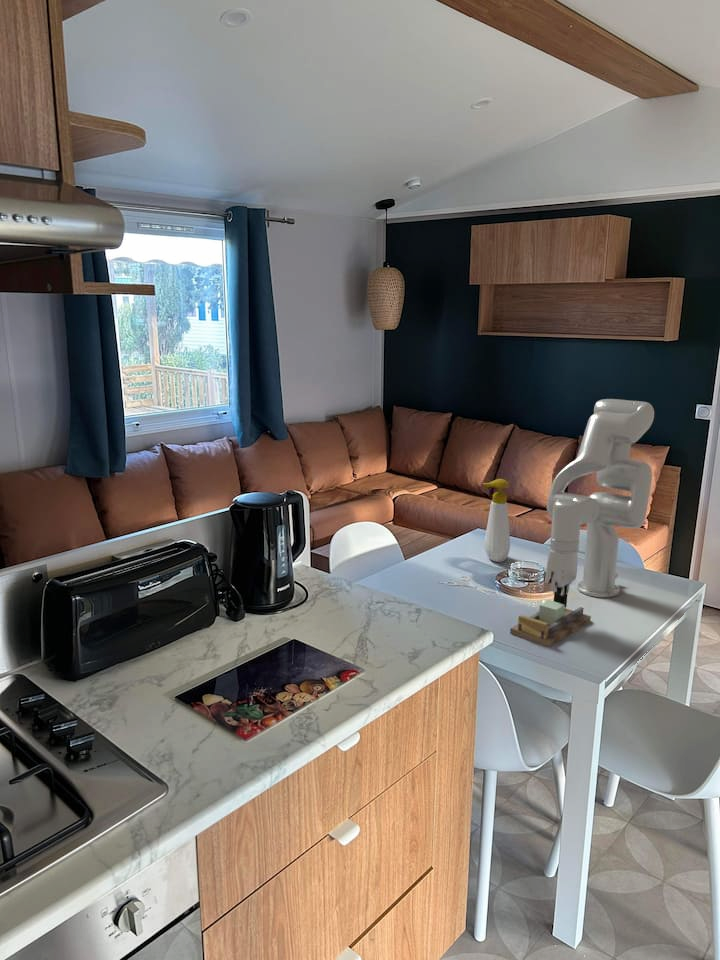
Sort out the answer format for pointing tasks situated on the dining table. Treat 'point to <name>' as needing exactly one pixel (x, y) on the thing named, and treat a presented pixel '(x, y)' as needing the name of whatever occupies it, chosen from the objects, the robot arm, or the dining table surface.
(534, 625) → the track
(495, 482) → the spray bottle
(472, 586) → the scissors
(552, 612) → the pale green cube
